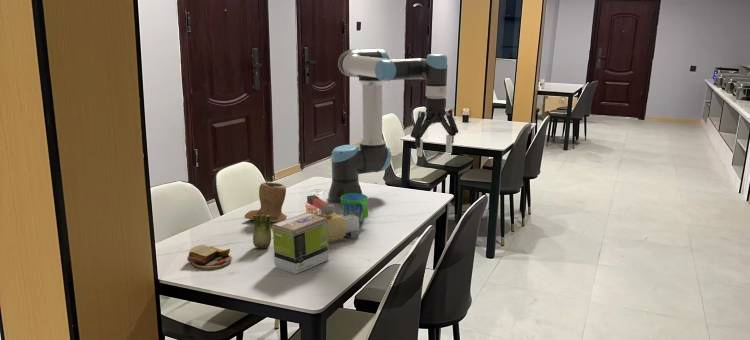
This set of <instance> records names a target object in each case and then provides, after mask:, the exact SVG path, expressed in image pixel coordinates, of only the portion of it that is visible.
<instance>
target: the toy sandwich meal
mask: <svg viewBox="0 0 750 340" xmlns="http://www.w3.org/2000/svg"><path fill="white" fill-rule="evenodd" d="M230 252H231V249H230V248H228V249H220V248H217V247H214V246H211V245H210V246H207V245H206V244H200V245H197V246H194V247H191V248H190V250H189V253H188V256H187V262H191V263H192V265H193V266H194V267H196V268H197V269H201V270H215V269H220V268H223V267H226V266H228V265H229V264H230V263H231V262H232V260H233V257H232V256H231V255H230Z"/></svg>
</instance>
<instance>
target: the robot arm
mask: <svg viewBox="0 0 750 340" xmlns="http://www.w3.org/2000/svg"><path fill="white" fill-rule="evenodd" d="M337 67H338V69H339V71H340V72H341V74H342V75H345V76H347V77H349V78H358V82H359V83H360V84H361V86H362V139H361V140H360V141H359V145H357V144H344V145H340V146H336V147H334V149H333V150H332V152H331V160H330V161H331V184H330V187H329V191H328V192H327V193H328V195H327V196H328V201H330V202H331V203H338V204H341V201H340V198H341V196H342V195H344V194H349V193H359V194H363V191H362V188H361V185H360V182H359V176H360V175H361V174H370V173H379V172H383V171H386V170H387V169H388V168H389V166H390V164H391V160H392V152H391V149H390V146H388V145H387V143H386V141H385V140H384V138H383V84H384V83H385V82H389V81H400V80H401V81H402V80H403V81H404V80H425V97H426V98H425V102H424V103H425V106H424V107H425V109H426V110H425V111H421V110H420V111H418V113H417V118H416V121H415V123H414V126H413V127H412V130H411V133H410V137H411V138H414V146H415V148H416V157H420V158H422V157H423V141H424V139H423V138H422V137H423V135H425V133H426V132H427V130H428V128H429V126H431V125H432V124H435V123H438V124H439V123H440V124H441V126H442V127H443V128H444V130H445V131H446V132H447V134H446V136H445V137H446V138H445V152H446V153H448V154H452V153H453V144H454V143H455V141H454V139H455V138H454V137H455V136H456V135H457V134H459V129H458V127H457V123H456V121H455V118H454V116H453V110H452V109H450V108H446V107H447V98H446V97H447V87H448V86H447V82H448V56H447V55H446V54H443V53H442V54H439V53H431V54H430V53H429V54H427V55H426V58H421V57H415V58H395V59H393V58H390V55H389V54H388V53H387V51H386V50H384V49H381V48H360V49H356V48H354V49H353V48H352V49H348V50H346V51H344V52H343V53H341V55H340V56H339V58H338V61H337Z"/></svg>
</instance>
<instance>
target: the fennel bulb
mask: <svg viewBox="0 0 750 340" xmlns="http://www.w3.org/2000/svg"><path fill="white" fill-rule="evenodd" d="M257 218H258V220H257ZM261 219H262V220H261ZM261 219H260V215H253V232H252V243H253V244H252V245H253V246H254V247H255V248H257V249H261V250H264V249H268V248H269V247H270V245H271V241H272V229H271V222H270V216H269V215H267V218H266V221H265V215H261Z"/></svg>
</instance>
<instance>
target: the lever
mask: <svg viewBox="0 0 750 340" xmlns="http://www.w3.org/2000/svg"><path fill="white" fill-rule="evenodd" d="M306 201H307V202H306V203H307V204H308V205H311V206H313V207H315V208H316V209H318V210H319V211H321V214H332V213H334V212H335V204H333V203H328V202H327V201H325V200H323V199H321V198H320V197H319V196H318V195H316V194H312V195H307V196H306Z"/></svg>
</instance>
